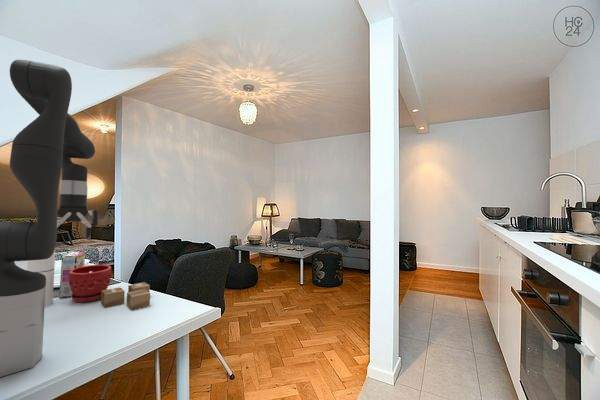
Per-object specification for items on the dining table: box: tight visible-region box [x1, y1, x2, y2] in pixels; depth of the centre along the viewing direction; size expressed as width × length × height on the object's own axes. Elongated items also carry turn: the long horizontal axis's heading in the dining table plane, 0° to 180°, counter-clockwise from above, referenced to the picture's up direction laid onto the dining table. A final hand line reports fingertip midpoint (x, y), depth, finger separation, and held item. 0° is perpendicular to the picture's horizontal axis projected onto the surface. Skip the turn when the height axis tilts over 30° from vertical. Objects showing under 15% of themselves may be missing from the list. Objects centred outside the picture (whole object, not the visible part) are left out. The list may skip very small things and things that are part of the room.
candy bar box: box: [58, 251, 86, 299], centre depth 109 cm, size 11×5×16 cm, turn 25°
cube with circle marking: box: [127, 281, 151, 294], centre depth 106 cm, size 6×6×5 cm
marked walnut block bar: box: [100, 286, 125, 309], centre depth 99 cm, size 6×6×5 cm
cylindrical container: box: [26, 249, 56, 307], centre depth 96 cm, size 7×7×25 cm
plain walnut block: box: [125, 289, 151, 311], centre depth 97 cm, size 6×6×5 cm
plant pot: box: [69, 264, 112, 303], centre depth 104 cm, size 13×13×12 cm
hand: (71, 238), depth 94 cm, fingers open, 8 cm apart
